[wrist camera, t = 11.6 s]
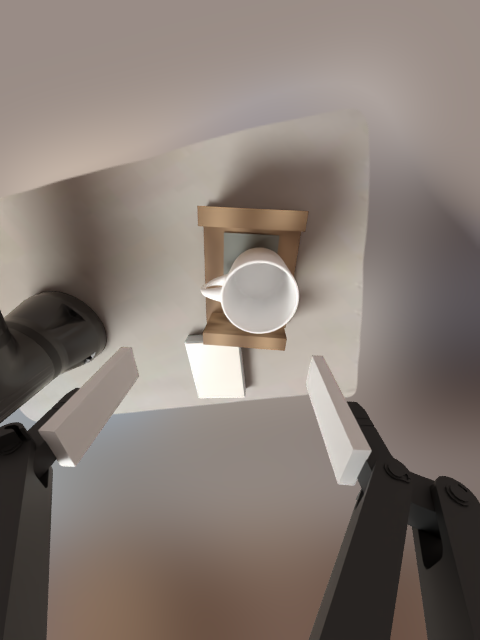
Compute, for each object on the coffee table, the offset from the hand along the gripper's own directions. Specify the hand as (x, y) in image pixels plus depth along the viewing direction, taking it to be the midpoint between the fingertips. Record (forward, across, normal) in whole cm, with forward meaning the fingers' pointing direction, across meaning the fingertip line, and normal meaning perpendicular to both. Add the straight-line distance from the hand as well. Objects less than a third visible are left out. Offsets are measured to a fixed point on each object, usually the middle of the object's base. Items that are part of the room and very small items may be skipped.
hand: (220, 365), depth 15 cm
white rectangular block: (+22, -4, -17) cm, 28 cm away
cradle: (+21, +2, +2) cm, 22 cm away
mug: (+20, +2, +2) cm, 20 cm away
